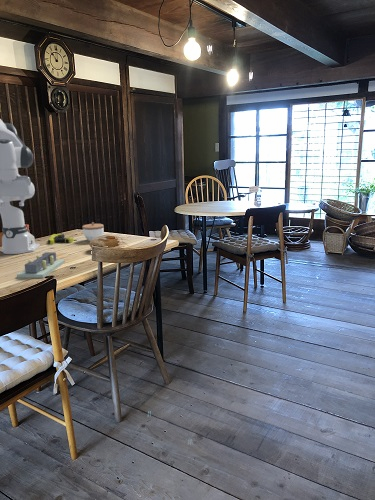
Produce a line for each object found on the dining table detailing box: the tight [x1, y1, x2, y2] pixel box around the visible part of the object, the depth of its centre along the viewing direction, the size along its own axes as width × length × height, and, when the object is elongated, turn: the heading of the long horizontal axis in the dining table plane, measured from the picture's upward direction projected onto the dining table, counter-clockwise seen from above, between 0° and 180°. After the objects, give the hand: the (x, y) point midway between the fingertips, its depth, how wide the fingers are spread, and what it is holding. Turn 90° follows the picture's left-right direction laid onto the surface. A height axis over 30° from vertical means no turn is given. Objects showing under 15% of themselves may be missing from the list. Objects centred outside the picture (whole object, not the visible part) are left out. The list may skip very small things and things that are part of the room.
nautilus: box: [88, 234, 129, 249], centre depth 222 cm, size 8×22×15 cm
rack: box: [16, 255, 66, 279], centre depth 188 cm, size 24×12×6 cm, turn 175°
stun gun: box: [48, 233, 75, 245], centre depth 248 cm, size 3×19×15 cm
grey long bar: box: [24, 252, 57, 274], centre depth 187 cm, size 21×5×4 cm, turn 175°
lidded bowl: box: [81, 222, 105, 242], centre depth 245 cm, size 13×13×11 cm
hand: (12, 206), depth 188 cm, fingers open, 8 cm apart
